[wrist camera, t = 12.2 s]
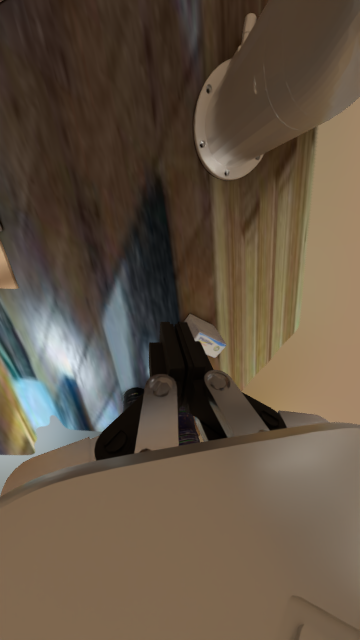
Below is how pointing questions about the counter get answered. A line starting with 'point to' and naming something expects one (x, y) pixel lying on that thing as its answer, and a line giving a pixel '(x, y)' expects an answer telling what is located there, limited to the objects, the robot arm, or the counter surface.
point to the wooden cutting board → (6, 271)
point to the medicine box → (206, 335)
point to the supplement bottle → (131, 397)
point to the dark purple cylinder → (186, 428)
